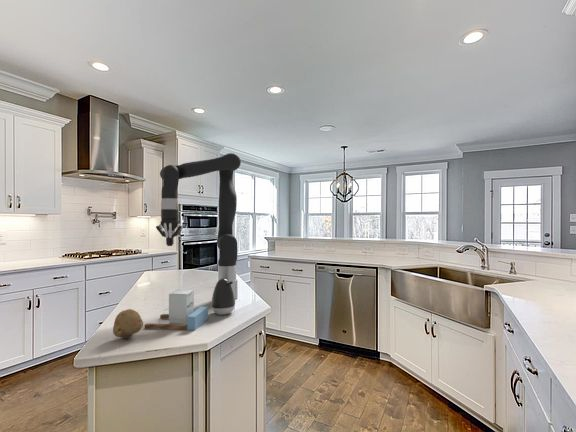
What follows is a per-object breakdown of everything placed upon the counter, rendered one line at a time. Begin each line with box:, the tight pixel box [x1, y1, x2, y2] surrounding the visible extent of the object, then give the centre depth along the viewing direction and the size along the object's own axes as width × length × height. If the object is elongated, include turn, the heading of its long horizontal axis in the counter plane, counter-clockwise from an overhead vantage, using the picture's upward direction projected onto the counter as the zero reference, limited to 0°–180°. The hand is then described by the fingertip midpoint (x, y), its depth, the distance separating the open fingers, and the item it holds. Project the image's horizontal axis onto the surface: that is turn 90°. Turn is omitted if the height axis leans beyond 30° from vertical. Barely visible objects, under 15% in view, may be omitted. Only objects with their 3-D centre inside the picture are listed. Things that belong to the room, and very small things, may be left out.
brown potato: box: [112, 308, 144, 340], centre depth 106 cm, size 9×9×10 cm
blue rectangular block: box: [186, 306, 209, 331], centre depth 120 cm, size 3×13×5 cm, turn 174°
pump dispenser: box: [210, 278, 236, 316], centre depth 133 cm, size 10×10×15 cm
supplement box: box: [168, 289, 195, 324], centre depth 121 cm, size 7×7×13 cm
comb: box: [143, 313, 188, 331], centre depth 121 cm, size 17×13×2 cm
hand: (169, 245), depth 142 cm, fingers closed
